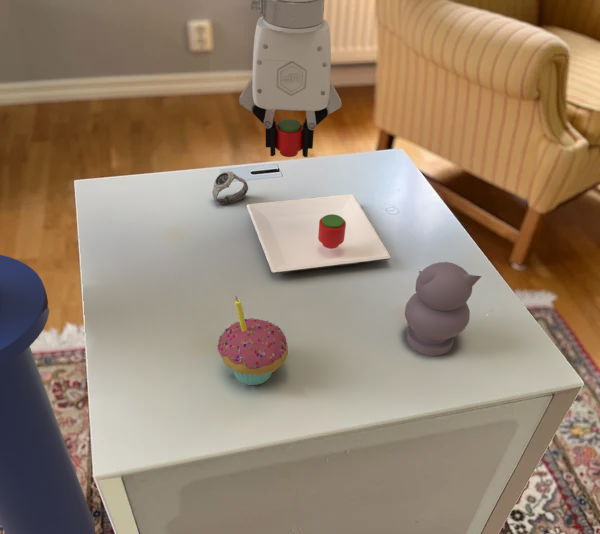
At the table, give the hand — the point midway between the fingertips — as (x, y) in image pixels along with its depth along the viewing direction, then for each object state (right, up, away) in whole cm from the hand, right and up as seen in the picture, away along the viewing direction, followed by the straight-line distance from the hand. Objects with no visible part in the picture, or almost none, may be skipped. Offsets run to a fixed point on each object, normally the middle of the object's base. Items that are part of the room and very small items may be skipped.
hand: (288, 150), depth 92 cm
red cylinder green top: (+6, -12, +6) cm, 15 cm away
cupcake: (-4, -32, -10) cm, 34 cm away
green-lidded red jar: (0, 0, 0) cm, 0 cm away
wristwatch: (-10, -2, +17) cm, 20 cm away
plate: (+4, -10, +11) cm, 15 cm away
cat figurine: (+20, -28, -4) cm, 34 cm away
